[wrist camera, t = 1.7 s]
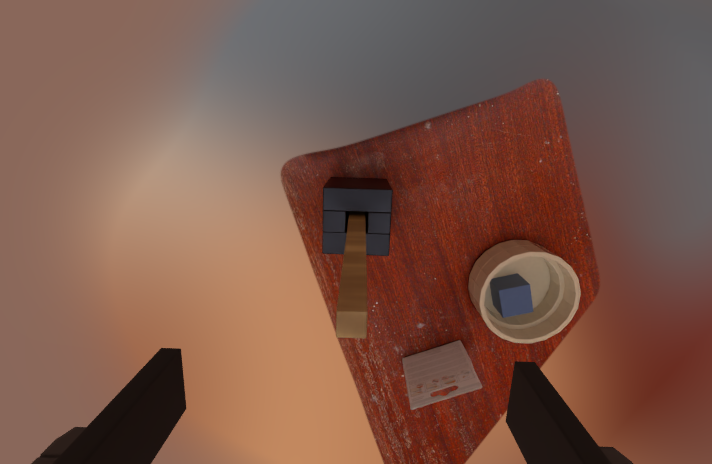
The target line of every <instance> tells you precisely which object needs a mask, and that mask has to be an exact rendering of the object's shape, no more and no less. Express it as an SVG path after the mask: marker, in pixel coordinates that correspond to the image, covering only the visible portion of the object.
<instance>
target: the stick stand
mask: <svg viewBox="0 0 712 464" xmlns="http://www.w3.org/2000/svg"><path fill="white" fill-rule="evenodd" d="M392 192H393V190H392V188H391V186H390V185H389V183H388V181H387V179H373V178H345V177H331V178H330V179H329V180H328V182H327V183H326V185H325V186H324V187H323V250H322V253H324V254H344V251H345V243H346V235H347V228H348V220H349V211H356V212H366V215H365V222H366V255H378V256H389V244H390V226H391V209H392Z"/></svg>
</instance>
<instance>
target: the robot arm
mask: <svg viewBox="0 0 712 464" xmlns="http://www.w3.org/2000/svg"><path fill="white" fill-rule="evenodd" d="M185 410H186V400H185V391H184V379H183V368H182V357H181V349H172V348H161V349H160V350H159V351H158V352H157V353H156V354H155V355H154V357H153V358H152V359H151V360H150V361H149V362H148V363H147V364H146V365H145V366H144V367H143V368H142V369H141V370H140V371H139V372H138V373H137V375H136V376H135V377H134V378H133V379H132V380H131V381H130V382H129V383H128V384H127V385H126V386H125V387H124V388H123V389H122V390H121V392H120V393H119V394H118V395H117V396H116V397H115V398H114V399H113V400H112V401H111V402H110V403H109V404H108V405H107V406H106V407H105V408H104V410H103V411H102V412H101V413H100V414H99V415H98V416H97V417H96V418H95V419H94V420H93V421H92V422H91V423H90V424H89V425H88V427H87V428H86V427H75V428H73V429H71V430H70V431H68V432H67V433H65V434H64V435H62V436H61V437H59V438H57V439H56V440H55V441H54V442H53V443H52V444H51V445H50V446H49V447H48V448H47V449H46V450H45V451H44V452H43V453H42V454H41V456H40V457H39V458H37V459H36V460H35V461H34V462H33V463H32V464H151V462H152V461H153V459H154V458H155V456H156V455H157V453H158V451H159V450H160V449H161V447H162V445H163V444H164V442H165V441H166V439H167V438H168V436H169V435H170V433H171V431H172V430H173V428H174V427H175V425H176V424H177V422H178V420H179V419H180V417H181V416H182V414H183V413H184V411H185ZM506 423H507V424H508V426H509V428H510V430H511V432H512V434H513V436H514V438H515V440H516V442H517V444H518V446H519V448H520V450H521V452H522V454H523V456H524V458H525V460H526V462H527V464H633V463H632V462H631V461H630V460H629V459H627V458H626V457H625V456H624V455H622V454H621V453H620V452H619V451H617V450H616V449H615V448H613V447H599V446H598V445H597V444H596V442H595V441H594V440H593V439H592V437H591V436H590V434H589V433H588V432H587V431H586V429H585V428H584V427H583V425H582V424H581V423H580V422H579V420H578V419H577V417H576V416H575V415H574V413H573V412H572V411H571V410H570V408H569V407H568V406H567V404H566V403H565V402H564V400H563V399H562V398H561V396H560V395H559V394H558V392H557V391H556V390H555V388H554V387H553V386H552V384H551V383H550V382H549V381H548V379H547V378H546V377H545V375H544V374H543V373H542V371H541V370H540V369H539V367H538V366H537V365H536V363H535V362H515V365H514V371H513V378H512V384H511V390H510V397H509V403H508V410H507V416H506Z"/></svg>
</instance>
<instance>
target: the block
mask: <svg viewBox="0 0 712 464" xmlns="http://www.w3.org/2000/svg"><path fill="white" fill-rule="evenodd" d="M490 289H491V296H492V302H493V306H494V307H495V308H496V309H497V311H498V312H499V313H500V315H501V316H502V317H503V318H506V317H511V316H516V315H521V314H526V313H531V312H533V304H532V296H531V288H530V284H529V283H528V282H527V281H526V280H525V279H524V278H522V277H521V276H520V275H519V274H518V273H516V274H511V275H507V276H502V277H497V278H492V279H491V281H490Z"/></svg>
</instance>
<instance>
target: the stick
mask: <svg viewBox="0 0 712 464" xmlns="http://www.w3.org/2000/svg"><path fill="white" fill-rule="evenodd" d="M366 333H367V268H366V222H365V212H356V211H350V212H349V220H348V228H347V235H346V243H345V251H344V258H343V266H342V273H341V281H340V289H339V296H338V304H337V315H336V337H344V338H366Z"/></svg>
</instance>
